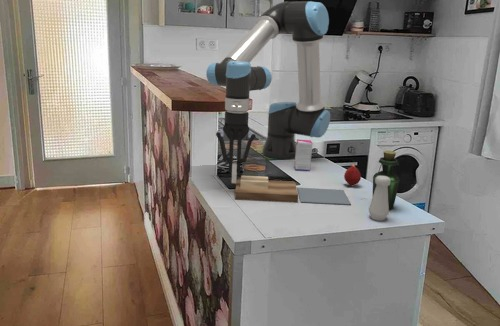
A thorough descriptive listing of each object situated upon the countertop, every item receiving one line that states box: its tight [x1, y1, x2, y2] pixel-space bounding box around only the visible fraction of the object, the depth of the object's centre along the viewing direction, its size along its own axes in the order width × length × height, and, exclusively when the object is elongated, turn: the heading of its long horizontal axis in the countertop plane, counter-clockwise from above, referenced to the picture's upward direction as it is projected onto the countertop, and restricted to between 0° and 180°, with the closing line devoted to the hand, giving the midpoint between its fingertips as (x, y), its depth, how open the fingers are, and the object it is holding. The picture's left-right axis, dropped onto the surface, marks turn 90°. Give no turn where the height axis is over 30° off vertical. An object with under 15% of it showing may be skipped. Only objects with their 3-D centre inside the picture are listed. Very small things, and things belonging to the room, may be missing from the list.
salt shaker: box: [368, 176, 390, 222], centre depth 137 cm, size 6×6×13 cm
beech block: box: [240, 174, 269, 190], centre depth 154 cm, size 6×9×2 cm, turn 89°
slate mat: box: [296, 187, 352, 206], centre depth 155 cm, size 14×16×1 cm
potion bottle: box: [371, 150, 401, 211], centre depth 146 cm, size 8×8×18 cm
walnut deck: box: [234, 178, 299, 204], centre depth 155 cm, size 14×20×2 cm
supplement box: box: [293, 138, 313, 172], centre depth 184 cm, size 6×6×12 cm
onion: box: [343, 164, 362, 187], centre depth 166 cm, size 6×6×8 cm
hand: (233, 181), depth 154 cm, fingers closed
